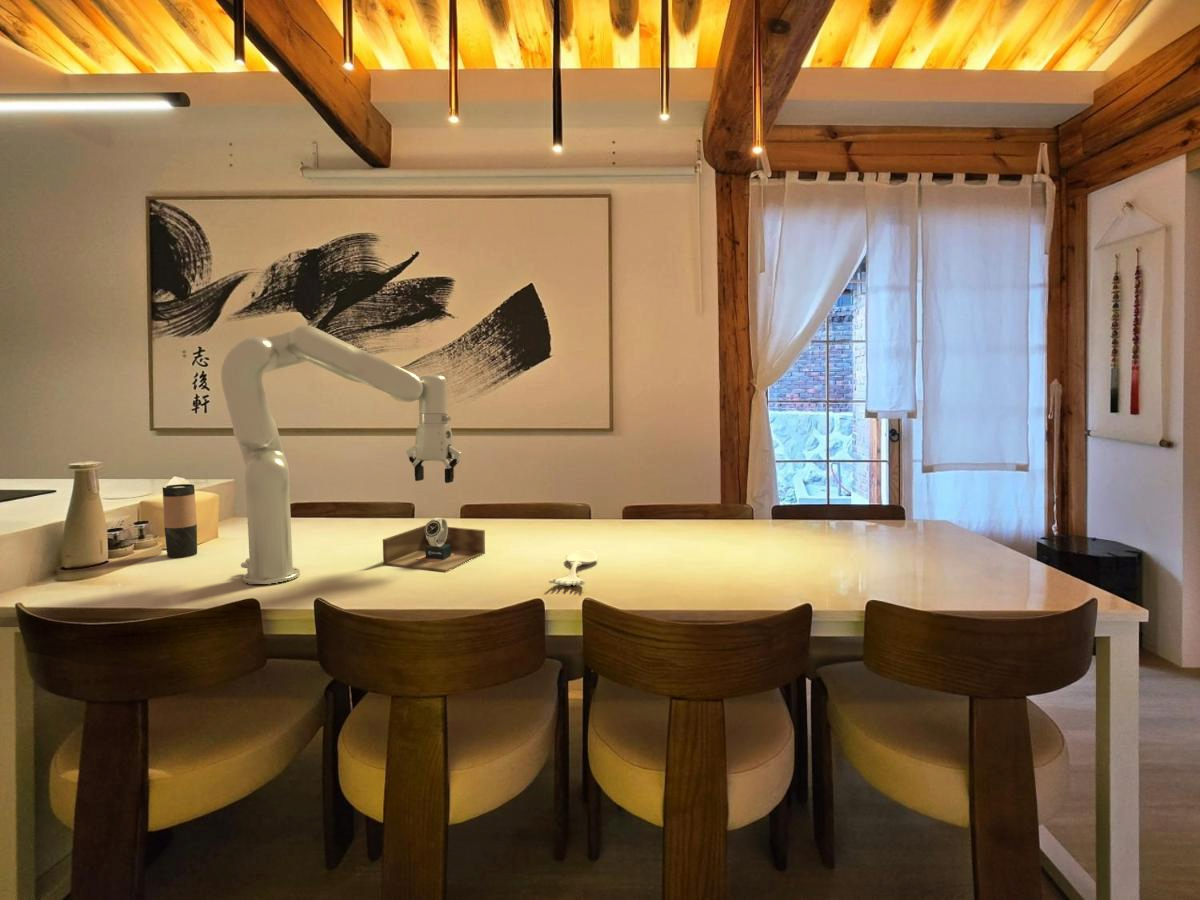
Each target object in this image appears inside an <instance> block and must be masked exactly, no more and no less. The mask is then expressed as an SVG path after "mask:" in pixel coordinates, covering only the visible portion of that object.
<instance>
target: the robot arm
mask: <svg viewBox="0 0 1200 900" xmlns="http://www.w3.org/2000/svg"><path fill="white" fill-rule="evenodd" d="M306 362H309V363H311V364H313V365H316V366H317V367H320V368H322V369H325V370H326V371H329V372H331V373H333V374H336V375H337V376H340V377H342V378H344V379H346V380H349V381H351V382H356V383H360V384H363V385H367V386H369V387H372V388H374V389H377V390H379V391H382V392H383V393H387V394H388V395H390V397H391V398H392V399H394V401H395V400H396V401H398V402H402V403H403V402H404V403H410V402H411V403H412V402H415V401H418V412H419V413H418V416H419V417H418V419H419V420H418V421H419V422H418V423H419V424H417V427H416V430H415V431H416V432H415V442H414V443H415V444H414V445H413V446H412V447H411V448H408V449H407V450H406V452H405V453H406V454H407V457H408V460H409V461H410V462H411V465H412V467H414V480H415V482H420V481H424V479H425V476H424V475H425V472H424V468H425V467H424V465H423V464H424V462H425V461H426V462H442V463H443V464H444V466H445V467H446V468H444V483H445V484H449V483H453V482H454V479H455V476H454V475H455V471H454V468H456V466H457V465H458V464H459V462H460V459H461V458H462V456H463V452H461V451H460V450H458V449H457V448H455V447H454V440H453V433H452V428H451V425H450V424H449V423H448V422H451V420H452V419H451V416H450V415H449V416H448V394H447V393H448V391H447V389H448V385H447V383H448V382H447V378H446V377H445V376H443V375H438V374H436V375H433V374H432V375H431V374H429V375H422V376H419V375H418V376H417V375H416V374H414V373H412V372H410V371H409V370H406V369H404V368H402V367H400V366H398V365H396V364H393V363H391V362H389V361H386V360H385V359H382V358H380V357H378V356H376V355H374V354H372V353H370V352H367V351H365V350H363V349H362V348H359V347H357V346H355V345H352V344H351V343H348V342H346V341H344V340H342V339H340V338H337V337H336V336H334V335H332V334H329V333H328V332H325V331H323V330H321V329H319V328H317V327H316V326H315V327H314V326H312V325H306V324H305V325H299V326H297V327H296V328H294V329H293V330H292V331H288V332H284V333H281V334H276V335H272V336H266V337H263V336H258V335H257V336H250V337H246V338H244V339H243V340H241V341H240V342H238V343H237V344H236V345H234V346H233V348H231V349H230V351H228V353H227V354H226V356H225V357H224V360H223V362H222V365H221V370H220V380H221V385H222V391H223V395H224V398H225V402H226V407H227V410H228V412H229V413H228V414H229V416H230V420H231V425H232V431H233V435H234V437H235V439H236V441H237V443H238V445H239V449H240V452H241V455H242V458H243V462H244V464H245V471H244V486H245V497H246V513H247V531H248V533H247V534H248V552H249V554H248V555H249V557H248V558H246V559H245V562H244V561H243V562H241V563H240V567H241V568H242V569H246V570H247V573H245V574H244V575H243V577H242V578H243V579H242V580H243V583H244V584H247V583H248V584H247V585H252V584H268V585H271V584H270V583H276V584H279V583H278V582H282V583H284V582H283V581H286V582H288V581H287V580H289V581H291V580H290V579H292V580H294V578H295V579H296V577H297V578H299V576H300V571H301V570H300V569H299V568H297V567H294V566H293V542H292V541H293V540H292V517H291V495H290V493H291V492H290V490H291V488H290V487H291V486H290V484H291V483H290V482H291V481H290V479H291V474H290V467H289V463H288V461H287V457H286V454H285V451H284V447H283V444H282V440H281V437H280V433H279V430H278V426H277V423H276V422H277V421H276V420H275V419H274V417H273V415H272V413H271V410H270V407H269V403H268V401H267V397H266V393H265V389H264V385H263V375H264V373H267V372H268V373H269V372H272V371H275V370H280V369H283V368H288V367H292V366H296V365H299V364H302V363H306ZM448 424H449V425H448Z"/></svg>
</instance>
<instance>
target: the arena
mask: <svg viewBox="0 0 1200 900" xmlns="http://www.w3.org/2000/svg"><path fill="white" fill-rule="evenodd" d="M425 526H426V524H425V525H421V526H418V527H416V528H413V529H411V530H407V531H404V532H401V533H399V534H395V535H391V536H389V537H386V538H383V539H382V556H383V558H382V559H383V561H382V562H383V565H385V566H394V567H402V568H409V569H419V570H425V569H428V571H434V570H438V571H437V572H442V571H448V570H450V569H452V570H453V568H454V569H456V568H458V567H460V566H462V565H464V564H466V563H468V562H470V561H469V560H471V559H473V558H475V559H477V558H479V557H480V555H481V556H483V555H485V554H486V537H485V536H486V535H485V534H486V533H485V531H486V529H478V528H477V529H476V528H463V527H455V526H453V527H452V526H448V534H447V539H446V542H445V543H444V544H446V545H451V556H449V557H447V558H446V559H444V560H443V559H430V558H426V552H425V547H427V546H429V545H430V544H429V542H428V539H427V538H426V534H425V532H424V531H425V530H424V529H425ZM436 542H438V540H436ZM484 553H485V554H484ZM482 554H483V555H482ZM478 556H479V557H478ZM476 557H477V558H476ZM473 560H474V559H473ZM467 561H468V562H467ZM471 561H472V560H471ZM465 562H466V563H465ZM463 563H464V564H463ZM461 564H462V565H461ZM459 565H460V566H459ZM457 566H458V567H457ZM455 567H456V568H455ZM450 571H451V570H450ZM448 572H449V571H448Z"/></svg>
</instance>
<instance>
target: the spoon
mask: <svg viewBox="0 0 1200 900" xmlns="http://www.w3.org/2000/svg"><path fill="white" fill-rule="evenodd" d="M598 559H599V555H598V554H597V553H596V552H595V551H593V550H590V549H578V550H574V551H572V552H570V553H568V554H567V555H566V557H565V560H566V561H567V562H568V563H569V564H570V566H571V568H570V571H569V572H568V574H567V575H566V576H565V577H564V576H563V577H561V578H549V579H548V584H555V585H559V586H565V587H571V585H573V586H574V587H575V585H576V586H582V585H585V583H586V580H583V579H582V578H579V577H578V576H577V568H578V567H580V566H585V564H587V565H590V564H592V563H595V562H596V561H598ZM573 586H572V587H573Z"/></svg>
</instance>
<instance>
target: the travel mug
mask: <svg viewBox="0 0 1200 900" xmlns="http://www.w3.org/2000/svg"><path fill="white" fill-rule="evenodd" d="M195 493H196V492H195V484H191V483H190V484H189V483H187V484H186V483H183V484H182V483H181V484H179V483H178V484H170V485H167V486H165V487H162V499H163V500H162V502H163V504H162V505H163V526H164V537H165V546H166V555H167V556H166V557H167V558H168V559H184V558H189V557H193V556H196V555H197V554H198V527H197V526H198V523H197V522H198V521H197V507H196V494H195Z"/></svg>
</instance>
